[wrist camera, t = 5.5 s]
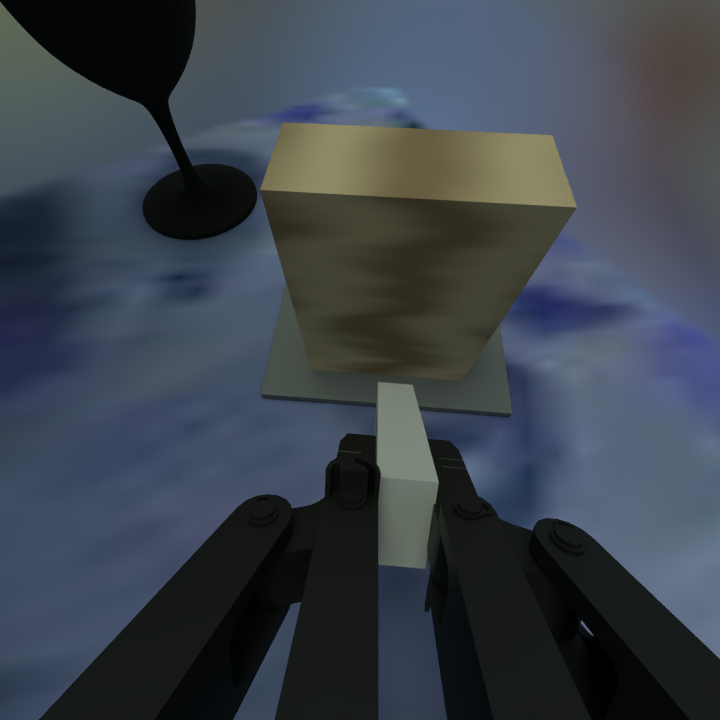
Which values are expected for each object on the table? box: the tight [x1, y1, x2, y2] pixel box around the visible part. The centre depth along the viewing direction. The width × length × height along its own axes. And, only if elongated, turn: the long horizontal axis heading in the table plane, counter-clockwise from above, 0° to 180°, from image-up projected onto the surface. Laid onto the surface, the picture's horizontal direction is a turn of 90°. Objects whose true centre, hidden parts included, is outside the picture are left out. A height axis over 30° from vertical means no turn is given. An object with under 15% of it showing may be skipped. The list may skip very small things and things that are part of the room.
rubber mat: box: [260, 284, 512, 417], centre depth 26 cm, size 16×20×1 cm
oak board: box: [260, 122, 577, 381], centre depth 17 cm, size 10×4×13 cm, turn 85°
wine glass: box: [0, 0, 257, 239], centre depth 22 cm, size 10×10×20 cm
